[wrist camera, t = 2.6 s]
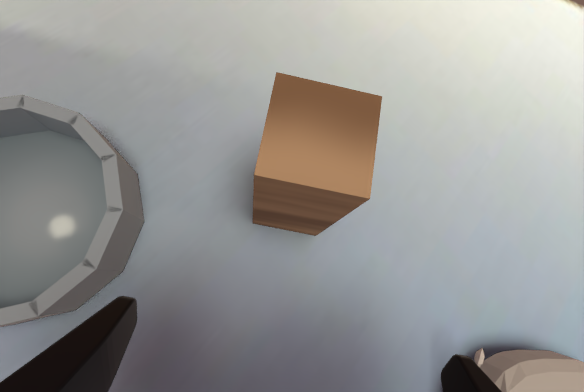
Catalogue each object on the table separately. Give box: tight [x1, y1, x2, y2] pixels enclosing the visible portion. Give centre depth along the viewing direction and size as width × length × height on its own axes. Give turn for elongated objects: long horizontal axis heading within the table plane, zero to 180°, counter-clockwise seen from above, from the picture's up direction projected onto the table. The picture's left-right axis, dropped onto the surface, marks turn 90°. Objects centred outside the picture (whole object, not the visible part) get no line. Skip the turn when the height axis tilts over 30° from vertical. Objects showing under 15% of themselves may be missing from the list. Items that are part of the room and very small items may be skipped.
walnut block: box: [253, 72, 382, 236], centre depth 18 cm, size 4×4×11 cm
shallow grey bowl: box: [0, 95, 144, 327], centre depth 20 cm, size 13×13×4 cm
